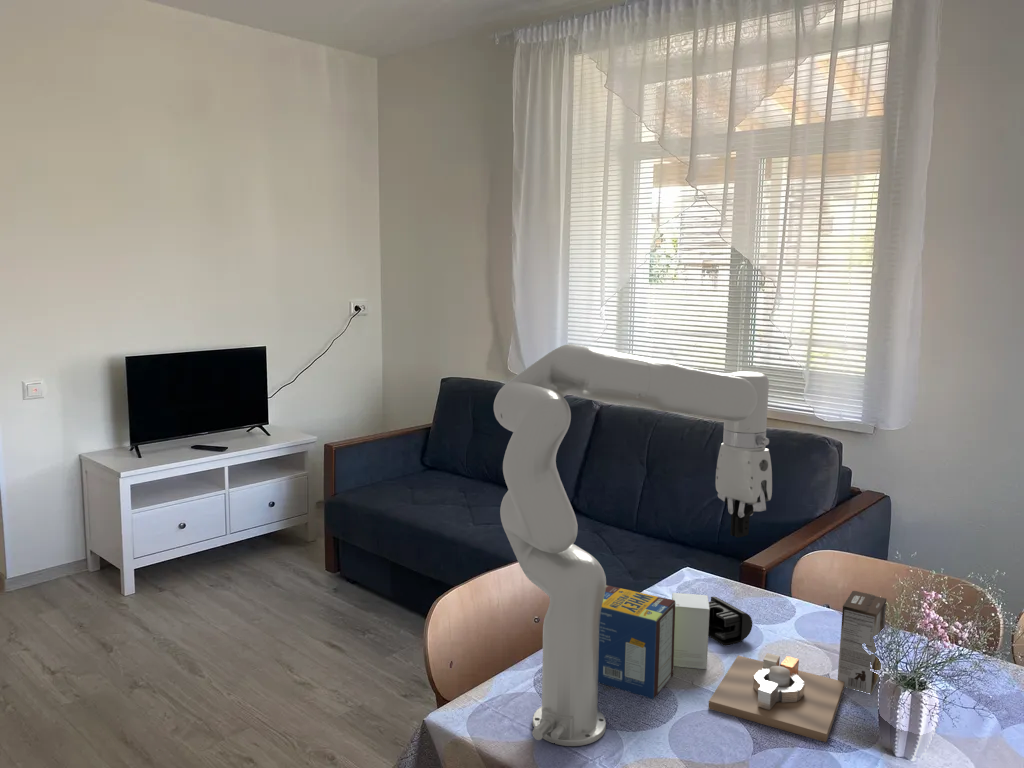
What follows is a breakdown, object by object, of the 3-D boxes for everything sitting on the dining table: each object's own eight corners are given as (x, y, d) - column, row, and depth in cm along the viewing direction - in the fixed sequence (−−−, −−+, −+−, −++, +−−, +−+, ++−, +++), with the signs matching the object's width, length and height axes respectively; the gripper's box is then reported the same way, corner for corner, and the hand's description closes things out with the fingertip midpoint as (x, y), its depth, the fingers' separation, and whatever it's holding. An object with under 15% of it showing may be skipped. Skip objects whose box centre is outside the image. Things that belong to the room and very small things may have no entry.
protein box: (601, 655, 162) (603, 583, 160) (673, 676, 155) (677, 600, 152) (578, 677, 154) (580, 601, 151) (654, 700, 146) (657, 620, 144)
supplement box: (707, 670, 157) (710, 609, 155) (669, 666, 158) (671, 606, 157) (706, 652, 164) (708, 594, 162) (669, 649, 166) (671, 591, 164)
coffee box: (847, 666, 159) (852, 589, 157) (881, 676, 155) (888, 597, 153) (835, 685, 152) (841, 604, 149) (871, 696, 148) (878, 613, 146)
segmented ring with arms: (787, 716, 138) (788, 699, 137) (740, 700, 143) (741, 683, 142) (814, 680, 150) (815, 664, 150) (770, 666, 155) (771, 651, 155)
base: (826, 742, 133) (828, 711, 132) (708, 708, 143) (709, 679, 142) (844, 689, 150) (846, 661, 149) (737, 662, 160) (739, 636, 159)
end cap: (752, 641, 170) (753, 611, 169) (726, 647, 167) (727, 617, 166) (720, 622, 179) (721, 593, 178) (695, 628, 175) (696, 599, 174)
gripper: (791, 444, 142) (785, 543, 144) (728, 430, 154) (723, 521, 157) (762, 449, 138) (756, 550, 140) (700, 434, 150) (696, 527, 153)
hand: (739, 535), depth 149 cm, fingers closed
